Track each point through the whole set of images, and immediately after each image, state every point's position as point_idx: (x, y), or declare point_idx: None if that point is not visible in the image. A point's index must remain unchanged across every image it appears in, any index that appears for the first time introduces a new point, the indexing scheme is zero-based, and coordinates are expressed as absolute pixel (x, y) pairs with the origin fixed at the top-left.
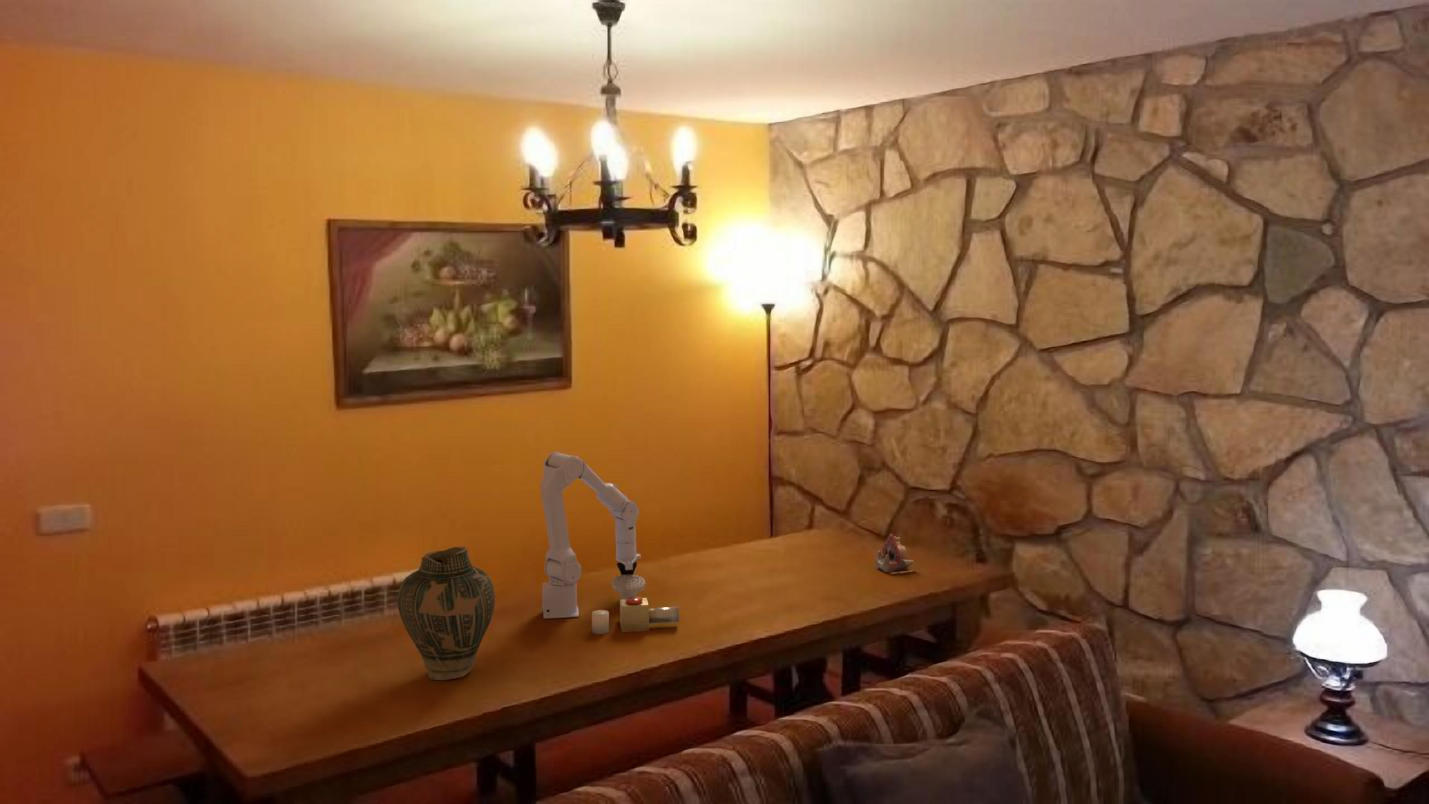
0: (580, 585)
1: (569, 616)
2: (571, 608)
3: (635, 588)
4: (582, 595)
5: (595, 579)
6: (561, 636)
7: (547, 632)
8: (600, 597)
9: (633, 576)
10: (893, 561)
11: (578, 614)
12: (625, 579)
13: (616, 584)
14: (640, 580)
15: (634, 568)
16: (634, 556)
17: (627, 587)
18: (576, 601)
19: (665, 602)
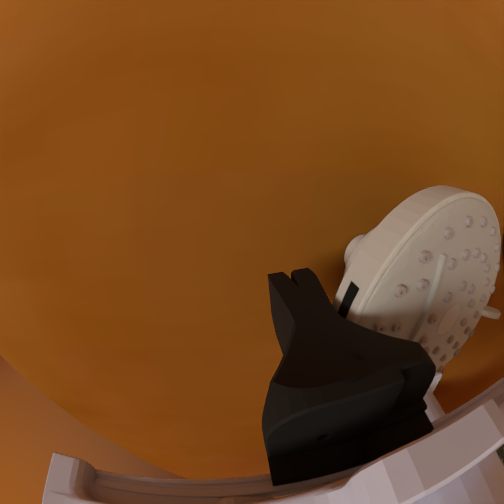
0: (122, 411)
1: (434, 387)
2: (436, 399)
3: (499, 254)
4: (235, 409)
5: (50, 372)
6: (499, 357)
7: (474, 384)
8: (265, 365)
9: (412, 303)
10: None
11: (437, 376)
12: (435, 341)
13: (448, 360)
14: (468, 234)
15: (399, 345)
16: (498, 459)
17: (488, 299)
18: (430, 408)
19: (386, 60)
